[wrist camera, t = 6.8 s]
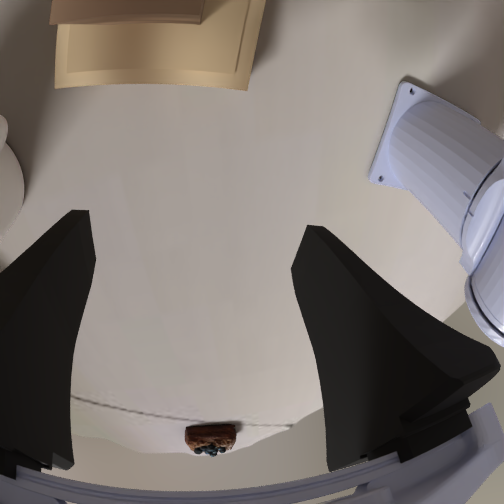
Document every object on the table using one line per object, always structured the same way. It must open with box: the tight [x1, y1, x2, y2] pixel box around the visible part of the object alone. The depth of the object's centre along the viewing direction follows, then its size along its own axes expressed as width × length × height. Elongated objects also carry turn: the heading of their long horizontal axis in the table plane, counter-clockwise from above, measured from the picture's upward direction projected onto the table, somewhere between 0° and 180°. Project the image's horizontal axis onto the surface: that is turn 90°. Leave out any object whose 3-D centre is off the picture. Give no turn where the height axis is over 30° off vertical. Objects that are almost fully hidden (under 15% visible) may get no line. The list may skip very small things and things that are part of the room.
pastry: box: [185, 424, 236, 457], centre depth 53 cm, size 11×12×6 cm
